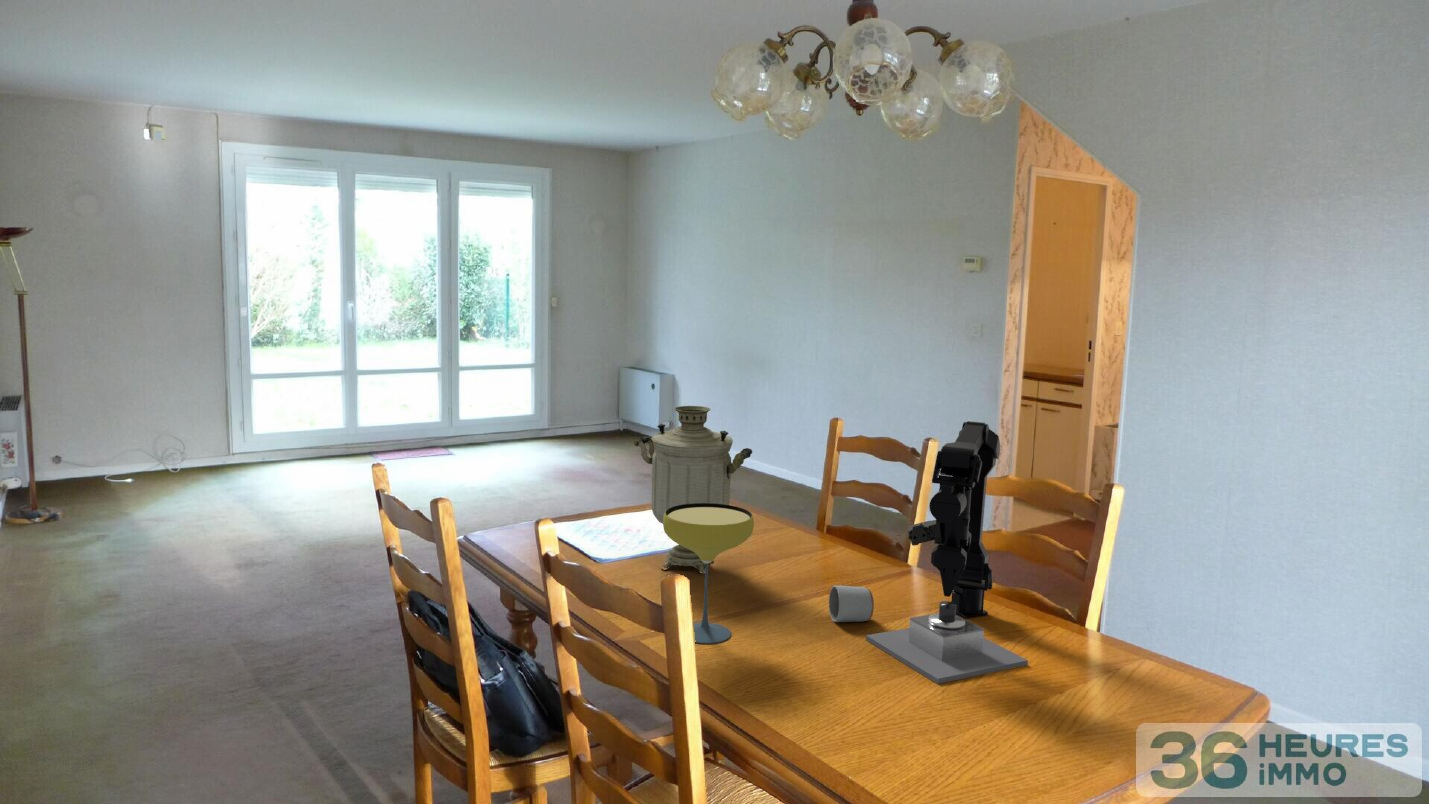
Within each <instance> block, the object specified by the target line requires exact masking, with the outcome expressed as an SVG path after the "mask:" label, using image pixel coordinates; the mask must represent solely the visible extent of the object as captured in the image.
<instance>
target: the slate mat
mask: <svg viewBox="0 0 1429 804" xmlns="http://www.w3.org/2000/svg"><path fill="white" fill-rule="evenodd" d="M865 641H866V642H868V643H870V644H871V645H873V646H874V647H876V648H878V649H880V650H881V651H883V652H885V653H886V654H888V655H889V656H891V657H892V658H893V659H895V660H898V661H899V662H901V663H902V664H904V665H906V666H907V667H909V668H910V669H912V670H914V671H915V672H917V673H918V674H921V676H924V677H925V678H926V679H928V680H930V681H932V682H933V683H935V684H936V685H939V684H944V683H945V684H946V683H949V682H954V681H957V680H958V681H959V680H963V679H968V678H973V677H977V676H982V675H983V676H984V675H987V674H992V673H993V674H994V673H997V672H1001V670H1002V671H1006V670H1007V671H1008V670H1011V668H1012V669H1015V668H1014V667H1017V668H1021V667H1020V666H1022V667H1026V666H1025V665H1027V666H1029V665H1028V664H1029V660H1028V659H1026V658H1024V657H1022V656H1021V655H1018V654H1017V653H1014V652H1013V651H1011V650H1009V649H1006V648H1005V647H1003V646H1001V645H1000V644H997V643H995V642H993V641H991V640H989V639H987V638H985V637H984V636H983V649H982V653H981V654H976V655H970V656H965V657H960V658H955V659H950V660H945V661H941V660H939V659H937V658H936V657H934V656H932V655H930V654H929V653H927V652H925V651H923V650H922V649H920V648H918V647H917V646H915V645H913V644H911V643H910V642H909V627H907V628H900V629H896V630H891V631H890V630H889V631H884V632H878V633H872V634H866V635H865Z"/></svg>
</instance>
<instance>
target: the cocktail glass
mask: <svg viewBox="0 0 1429 804" xmlns="http://www.w3.org/2000/svg"><path fill="white" fill-rule="evenodd" d="M662 525H663V530H664V533H665V535H666V536H667V537H668V538H669V539H670V540H671V541H673V542H674V543H676V544H677V545H681V546H683V547H685V548H687V549H689V550H691V551H693V552H695V553H696V554H697V555H698V556H699V558H700V559H701V561H702V562H704V563H705V565H704V569H705V574H704V590H703V591H704V592H703V593H704V595H703V611H702V620H701V622H693V623H694V632H695V640H696V643H695V644H699V645H701V644H703V645H712V644H718V643H720V644H721V643H722V642H726V641H728V640H729V639H730V638H731V636H732V631H731V630H730V629H729V628H728V627H726V626H725V625H722V624H718V623H712V622H709V619H708V591H709V587H708V586H709V564H711V563H712V562H713V561H715V559H716V558H717V556H719V555H720V554H722V553H724V552H727V551H728V550H729V551H730V549H733V548H736V547H738V546H739V545H742V544H743V543H745V542H746V541H747V540H748V539H749V538H750V537H752V534H753V532H754V525H755V521H754V516H753V513H752V511H750V510H748V509H746V508H743V507H740V506H737V505H736V506H735V505H730V504H729V505H725V504H716V503H691V504H683V505H677V506H674V507H671V508H669V509H667V510H666V511H665V513H664V517H663V524H662Z"/></svg>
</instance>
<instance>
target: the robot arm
mask: <svg viewBox="0 0 1429 804" xmlns="http://www.w3.org/2000/svg"><path fill="white" fill-rule="evenodd" d="M1000 441H1001V440H1000V436H999V435H998V434H997V433H995V431H993V430H991V429H990V427H989V424H988V423H986V422H979V421H964V422H963V423H962V427H961V430H959V432H958V435H957V437H956V439H955V441H954V442H948V443H945V444H944V445H943V446H941V449H940V450H937V451H938V452H937V454H936V458H935V459H936V460H935V464H934V469H933V474H932V479H931V483H932V484H939V488H938V492H936V493H935V494H934V495H933V496H932V498H931V499H930V501H929V512H930V514H931V515H932V517H933V518H934V519H933V520H927V521H923V522H918V523H913V524H911V525H909V526H908V528H907V533H908V540H910V544H911V546H914V547H915V546H918V545H920V544H922V543H923V544H924V543H927V542H932V541H934V542H933V543H934V544H935V545H936V546H935V547H934V548H932V550H931V554H930V555H931V558H930V564H931V565H932V566H933V567H934V568H936V570H938V571H939V574H940V580H941V585H942V591H943V596H944V597H948V598H949V597H951V601H950V602H953V603H955V604H956V615H958V616H960V617H962V618H964V619H969V618H974V617H980V616H981V617H982V616H986V615H988V614H989V612H988V611H987V610H985V609H984V606H985V605H984V604H985V603H984V602H985V601H984V600H985V592H987V591H988V590H992V589H993V582H994V581H993V570H992V568H991V564H990V563H989V562H988V560H989V553H988V552H987V549H986V548H985V545H984V544H983V541H982V540H983V529H984V528H983V527H984V519H985V505H986V494H987V483H988V480H987V479H988V476H989V475H990V473H991V472H992V470H993V469H994V468H995V466H996V463H997V460H999V458H1000V453H1001V442H1000Z"/></svg>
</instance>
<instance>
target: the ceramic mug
mask: <svg viewBox="0 0 1429 804" xmlns="http://www.w3.org/2000/svg"><path fill="white" fill-rule="evenodd" d="M828 609H829V616H830V619H831V621H832V622H834V623H853V622H856V623H857V622H858V623H859V622H860V623H861V622H866V621H870V619H872V617H873V615H874V609H875V601H874V596H873V593H872V591H871V590H870V589H869V588H867V587H863V586H849V585H836V584H835V585H833V586H831V588H830V591H829V596H828Z"/></svg>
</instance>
